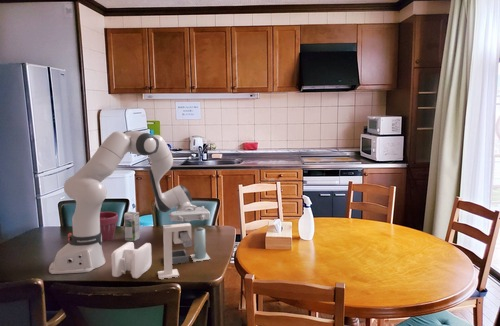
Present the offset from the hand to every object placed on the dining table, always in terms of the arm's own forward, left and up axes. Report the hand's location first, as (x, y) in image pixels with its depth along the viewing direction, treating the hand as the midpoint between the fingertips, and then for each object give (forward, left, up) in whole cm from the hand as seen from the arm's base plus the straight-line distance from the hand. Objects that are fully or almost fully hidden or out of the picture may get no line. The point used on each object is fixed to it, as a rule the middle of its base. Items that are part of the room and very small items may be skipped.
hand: (193, 219), depth 184 cm
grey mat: (+1, -14, -15) cm, 20 cm away
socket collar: (-10, -13, -15) cm, 22 cm away
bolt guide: (-13, -28, -15) cm, 34 cm away
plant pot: (-42, +29, -15) cm, 53 cm away
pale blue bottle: (+1, -14, -14) cm, 20 cm away
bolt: (-10, -30, +1) cm, 32 cm away
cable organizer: (-30, -21, -15) cm, 39 cm away
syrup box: (-28, +23, -15) cm, 39 cm away
